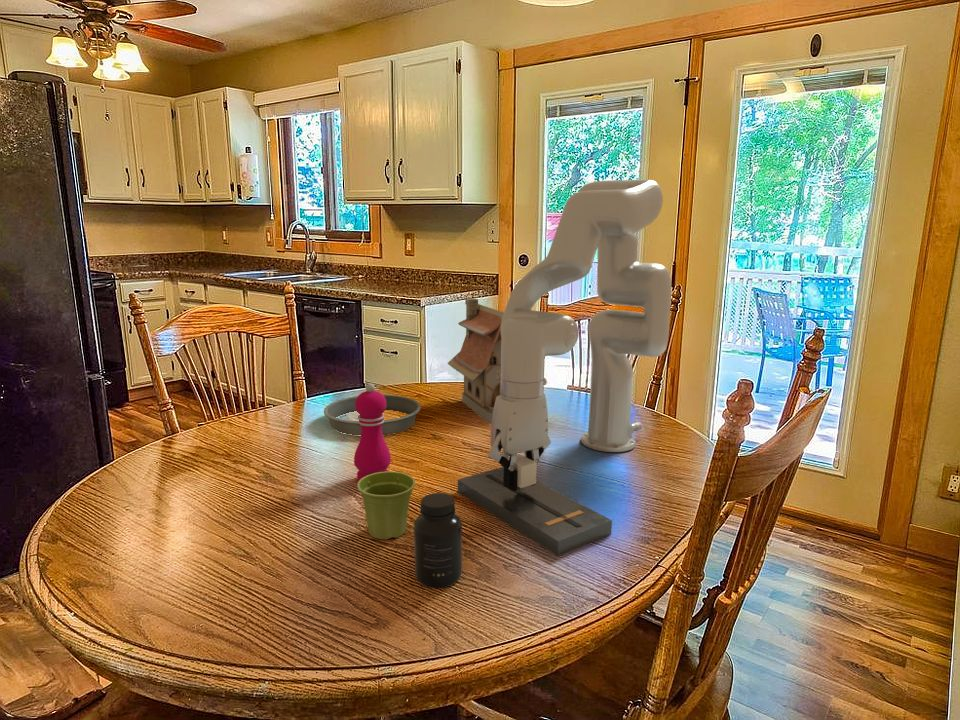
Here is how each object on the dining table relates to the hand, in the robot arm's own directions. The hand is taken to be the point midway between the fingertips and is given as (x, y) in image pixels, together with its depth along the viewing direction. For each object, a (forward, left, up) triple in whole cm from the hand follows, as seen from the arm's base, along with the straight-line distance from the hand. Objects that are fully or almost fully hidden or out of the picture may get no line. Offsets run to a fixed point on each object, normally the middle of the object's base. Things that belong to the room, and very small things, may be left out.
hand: (519, 484), depth 108 cm
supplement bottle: (+24, +11, -4) cm, 27 cm away
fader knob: (0, 0, -1) cm, 1 cm away
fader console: (0, +3, -4) cm, 5 cm away
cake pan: (+1, -58, -5) cm, 58 cm away
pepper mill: (+17, -25, -4) cm, 31 cm away
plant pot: (+24, -5, -4) cm, 25 cm away
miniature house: (-31, -50, -4) cm, 59 cm away
